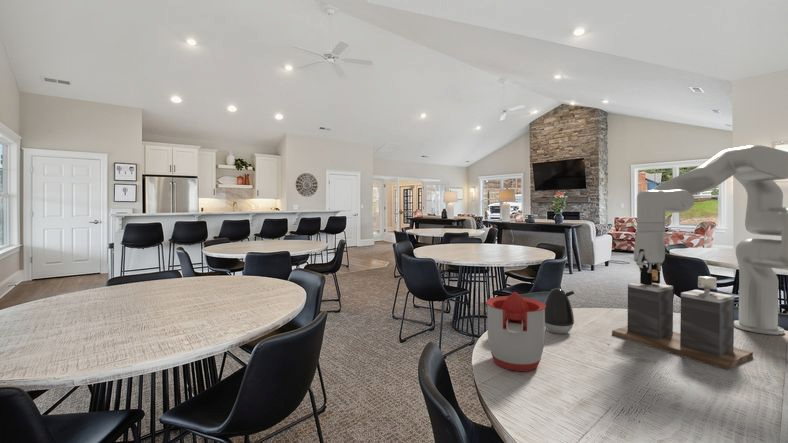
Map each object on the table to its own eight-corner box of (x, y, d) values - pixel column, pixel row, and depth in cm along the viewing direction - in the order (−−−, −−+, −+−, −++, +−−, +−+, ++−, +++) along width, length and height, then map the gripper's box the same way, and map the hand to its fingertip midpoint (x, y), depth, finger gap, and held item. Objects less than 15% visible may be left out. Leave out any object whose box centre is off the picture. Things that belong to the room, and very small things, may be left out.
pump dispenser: (578, 337, 117) (578, 292, 116) (545, 335, 119) (545, 291, 119) (569, 327, 127) (569, 285, 126) (539, 325, 129) (539, 284, 129)
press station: (639, 326, 126) (639, 278, 126) (752, 357, 100) (753, 296, 99) (612, 334, 119) (612, 283, 119) (727, 369, 92) (728, 303, 92)
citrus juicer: (483, 373, 92) (482, 298, 91) (489, 349, 108) (488, 284, 107) (548, 383, 86) (548, 302, 86) (544, 355, 103) (544, 287, 102)
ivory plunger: (697, 340, 107) (698, 274, 107) (727, 348, 101) (728, 278, 101) (685, 344, 104) (686, 276, 104) (715, 353, 98) (716, 280, 97)
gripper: (652, 227, 122) (651, 279, 123) (623, 228, 115) (623, 284, 115) (677, 227, 115) (676, 283, 116) (649, 229, 108) (648, 288, 108)
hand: (650, 283), depth 116 cm, fingers closed on copper plunger, 4 cm apart
